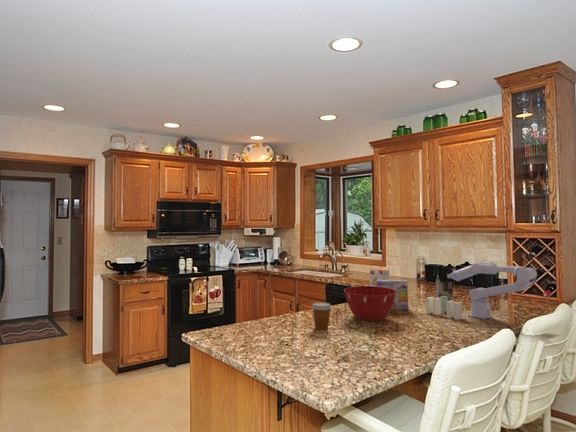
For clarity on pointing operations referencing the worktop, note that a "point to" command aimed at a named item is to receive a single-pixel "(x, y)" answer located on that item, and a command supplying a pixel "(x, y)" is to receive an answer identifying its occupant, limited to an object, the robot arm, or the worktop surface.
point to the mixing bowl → (370, 301)
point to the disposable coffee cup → (321, 315)
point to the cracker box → (378, 275)
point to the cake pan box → (401, 290)
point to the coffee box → (444, 289)
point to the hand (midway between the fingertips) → (443, 280)
